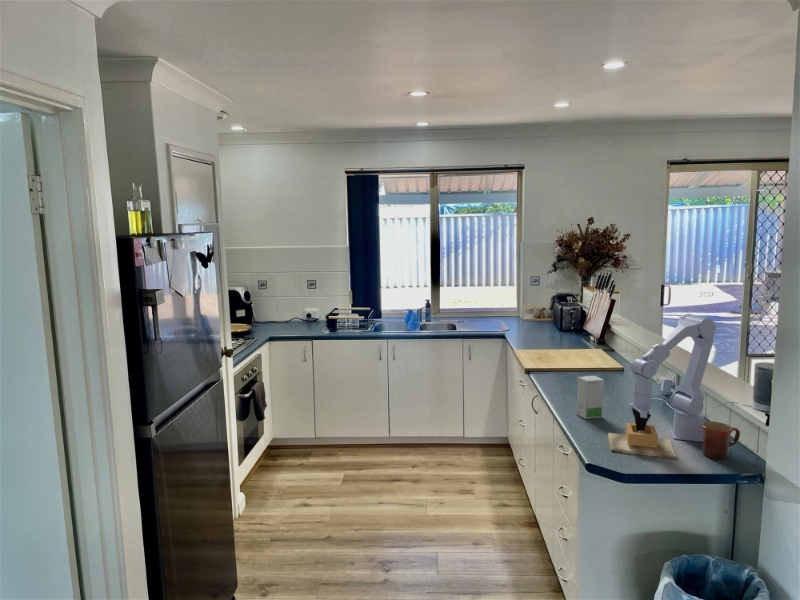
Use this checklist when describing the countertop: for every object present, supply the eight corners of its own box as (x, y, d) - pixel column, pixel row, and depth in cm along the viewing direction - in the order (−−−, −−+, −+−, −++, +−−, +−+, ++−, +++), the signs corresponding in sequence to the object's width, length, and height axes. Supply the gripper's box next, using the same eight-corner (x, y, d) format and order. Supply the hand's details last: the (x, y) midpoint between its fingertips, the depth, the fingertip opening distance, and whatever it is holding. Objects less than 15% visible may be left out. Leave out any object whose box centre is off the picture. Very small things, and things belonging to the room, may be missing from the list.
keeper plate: (668, 442, 185) (670, 426, 184) (676, 459, 172) (677, 442, 171) (608, 435, 191) (608, 420, 190) (610, 451, 178) (611, 435, 177)
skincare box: (584, 419, 207) (586, 381, 204) (574, 413, 213) (576, 376, 211) (603, 417, 209) (605, 379, 207) (592, 411, 215) (594, 374, 213)
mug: (709, 462, 170) (712, 431, 168) (693, 450, 178) (696, 421, 177) (746, 461, 170) (749, 431, 169) (728, 449, 179) (731, 420, 177)
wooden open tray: (653, 436, 184) (653, 425, 183) (657, 447, 176) (657, 436, 175) (625, 433, 187) (626, 422, 186) (627, 444, 178) (628, 433, 178)
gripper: (627, 385, 190) (625, 421, 192) (631, 398, 177) (629, 437, 179) (648, 387, 188) (646, 423, 190) (654, 400, 175) (652, 439, 177)
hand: (639, 430), depth 184 cm, fingers closed on wooden open tray, 2 cm apart
